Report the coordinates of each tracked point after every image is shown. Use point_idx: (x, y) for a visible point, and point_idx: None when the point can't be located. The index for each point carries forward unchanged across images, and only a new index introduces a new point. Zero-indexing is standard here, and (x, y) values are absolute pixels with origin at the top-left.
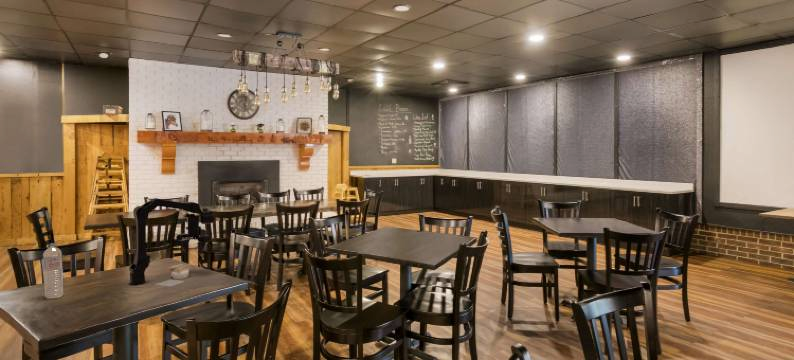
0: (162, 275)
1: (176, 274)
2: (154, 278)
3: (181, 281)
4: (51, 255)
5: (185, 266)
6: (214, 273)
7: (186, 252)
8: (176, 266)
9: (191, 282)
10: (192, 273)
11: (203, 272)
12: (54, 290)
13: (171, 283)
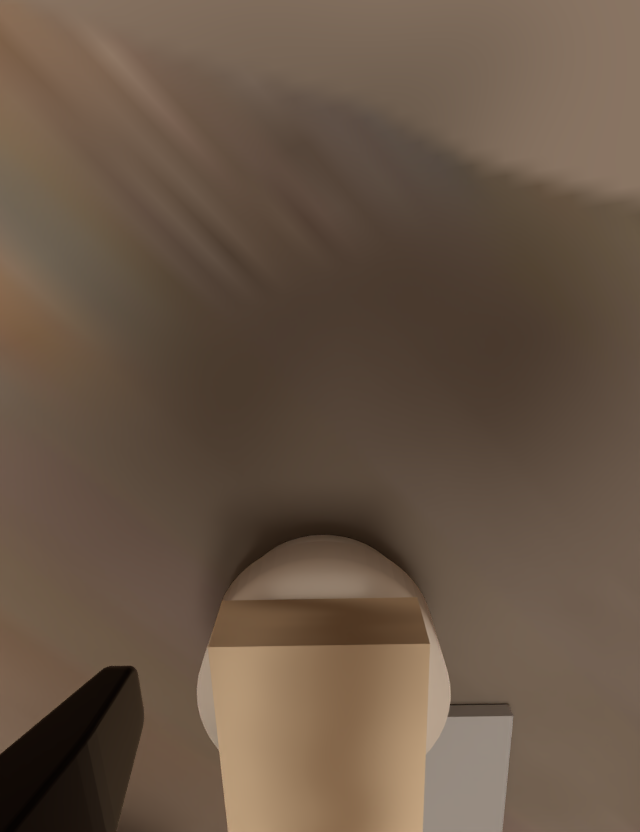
0: (2, 593)
1: None
2: (45, 707)
3: (481, 739)
4: None
5: (424, 736)
6: (622, 251)
7: (136, 732)
8: (285, 793)
9: (583, 688)
10: (288, 379)
11: (407, 269)
12: None
13: (430, 815)
